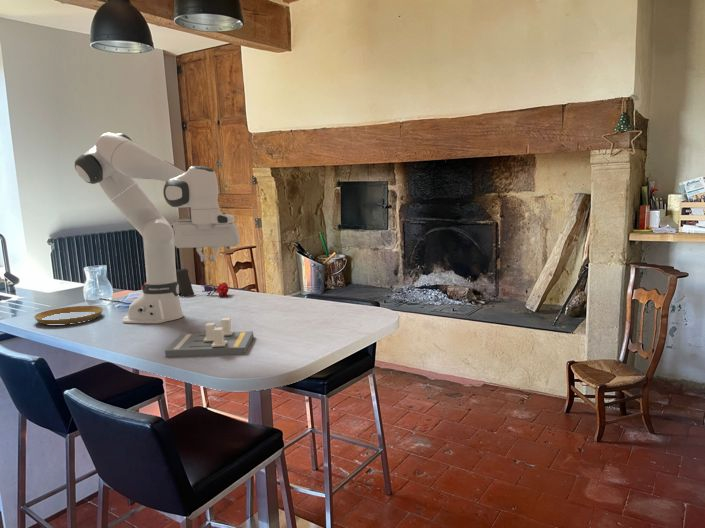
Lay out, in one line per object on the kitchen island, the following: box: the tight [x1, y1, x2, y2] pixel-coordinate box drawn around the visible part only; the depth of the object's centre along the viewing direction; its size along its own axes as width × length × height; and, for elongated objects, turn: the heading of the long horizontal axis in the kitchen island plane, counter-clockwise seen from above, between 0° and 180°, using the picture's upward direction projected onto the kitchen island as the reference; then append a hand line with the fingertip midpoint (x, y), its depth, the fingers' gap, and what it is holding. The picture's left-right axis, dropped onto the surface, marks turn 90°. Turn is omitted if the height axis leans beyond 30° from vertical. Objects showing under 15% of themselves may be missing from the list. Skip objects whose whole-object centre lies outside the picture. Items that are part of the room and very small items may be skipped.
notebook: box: [112, 289, 137, 299], centre depth 251 cm, size 27×17×2 cm, turn 58°
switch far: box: [220, 317, 235, 335], centre depth 179 cm, size 4×4×5 cm
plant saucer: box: [33, 305, 104, 325], centre depth 214 cm, size 24×24×3 cm
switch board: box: [164, 330, 254, 358], centre depth 173 cm, size 24×18×2 cm
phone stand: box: [176, 268, 195, 297], centre depth 256 cm, size 9×6×12 cm, turn 56°
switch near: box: [211, 326, 227, 347], centre depth 167 cm, size 4×4×5 cm
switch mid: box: [203, 322, 216, 341], centre depth 173 cm, size 4×4×5 cm
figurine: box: [200, 282, 229, 297], centre depth 252 cm, size 6×8×15 cm
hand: (208, 261), depth 173 cm, fingers closed
